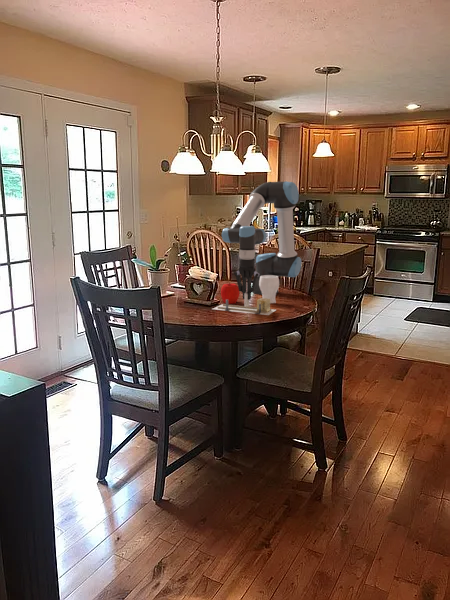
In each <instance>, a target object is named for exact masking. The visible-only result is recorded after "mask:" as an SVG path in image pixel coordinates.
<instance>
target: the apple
mask: <svg viewBox="0 0 450 600" xmlns="http://www.w3.org/2000/svg"><path fill="white" fill-rule="evenodd" d="M220 297H221V299H222V302H223V304H226V300H228V305H235V304H236V303H237V301H238V300H239V297H240V291H239V288H238V284H236V283H231V282H228V283H224V284H222V286H221V289H220Z"/></svg>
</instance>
